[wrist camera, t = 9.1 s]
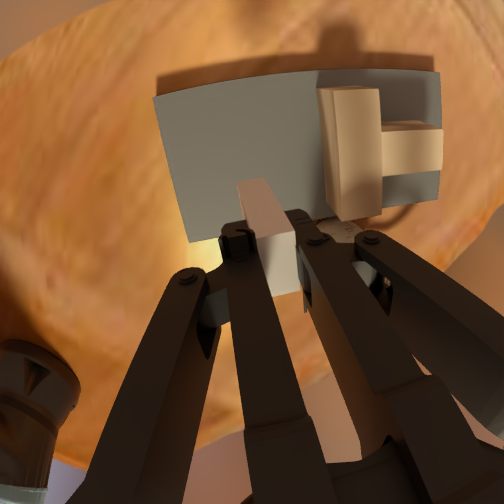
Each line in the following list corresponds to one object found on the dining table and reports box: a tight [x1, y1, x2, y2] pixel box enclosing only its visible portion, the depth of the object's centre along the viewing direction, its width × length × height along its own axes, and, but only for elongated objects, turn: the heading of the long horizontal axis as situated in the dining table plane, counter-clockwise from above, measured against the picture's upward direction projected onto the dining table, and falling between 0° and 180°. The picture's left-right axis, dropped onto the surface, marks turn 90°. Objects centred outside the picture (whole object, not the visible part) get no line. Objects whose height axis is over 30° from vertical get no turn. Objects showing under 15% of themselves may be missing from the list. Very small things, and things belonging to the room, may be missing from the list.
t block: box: [316, 86, 443, 222], centre depth 23 cm, size 10×10×4 cm
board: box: [153, 69, 442, 243], centre depth 26 cm, size 25×13×2 cm, turn 99°
